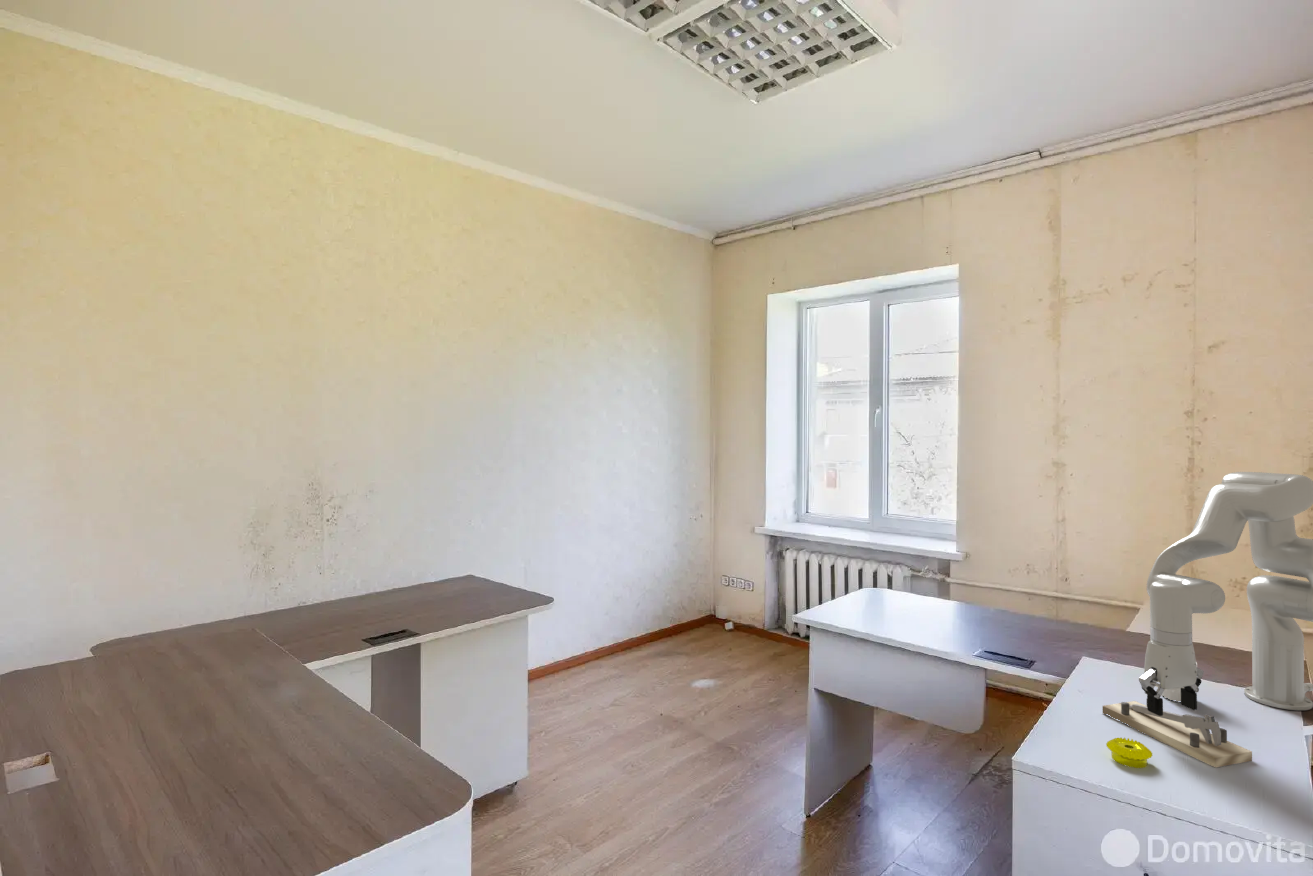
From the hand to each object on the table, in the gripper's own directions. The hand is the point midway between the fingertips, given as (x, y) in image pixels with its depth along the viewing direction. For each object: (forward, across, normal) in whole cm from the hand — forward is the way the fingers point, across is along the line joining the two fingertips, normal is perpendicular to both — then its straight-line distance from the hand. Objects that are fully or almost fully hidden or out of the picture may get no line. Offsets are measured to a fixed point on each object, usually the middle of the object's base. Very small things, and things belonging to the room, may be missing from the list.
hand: (1172, 710), depth 148 cm
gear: (+6, +19, +6) cm, 21 cm away
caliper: (+4, 0, 0) cm, 4 cm away
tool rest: (+6, 0, 0) cm, 6 cm away
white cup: (+6, -21, -15) cm, 26 cm away
